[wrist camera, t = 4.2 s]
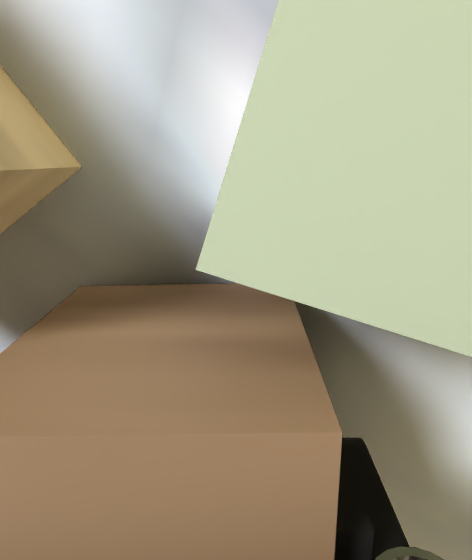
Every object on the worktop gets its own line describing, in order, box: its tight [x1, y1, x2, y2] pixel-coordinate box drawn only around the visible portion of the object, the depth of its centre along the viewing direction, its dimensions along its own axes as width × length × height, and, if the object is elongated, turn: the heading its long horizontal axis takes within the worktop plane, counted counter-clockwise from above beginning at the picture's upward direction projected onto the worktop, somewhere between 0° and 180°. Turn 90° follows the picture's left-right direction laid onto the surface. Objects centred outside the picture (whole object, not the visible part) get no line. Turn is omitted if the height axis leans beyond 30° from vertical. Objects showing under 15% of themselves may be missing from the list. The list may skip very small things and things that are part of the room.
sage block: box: [196, 0, 472, 357], centre depth 6 cm, size 7×4×5 cm, turn 162°
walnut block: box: [0, 283, 342, 560], centre depth 8 cm, size 7×4×5 cm, turn 1°
